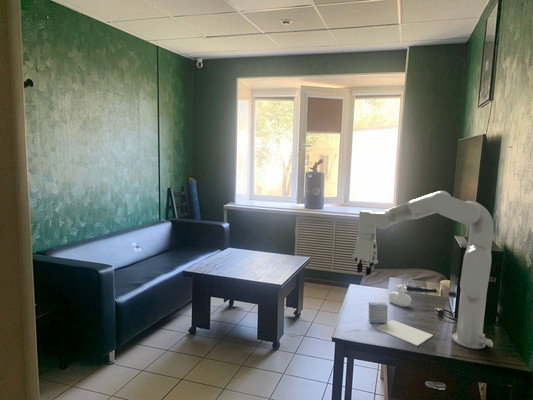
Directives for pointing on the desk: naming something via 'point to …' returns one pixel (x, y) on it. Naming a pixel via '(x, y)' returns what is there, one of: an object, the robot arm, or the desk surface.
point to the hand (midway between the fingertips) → (364, 273)
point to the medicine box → (378, 312)
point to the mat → (404, 332)
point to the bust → (400, 296)
